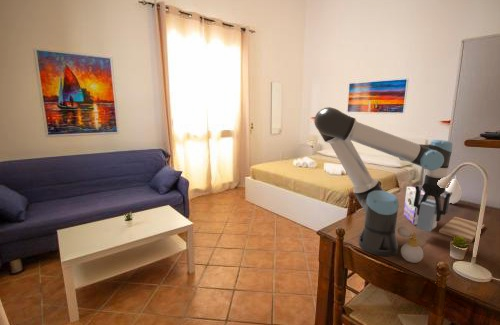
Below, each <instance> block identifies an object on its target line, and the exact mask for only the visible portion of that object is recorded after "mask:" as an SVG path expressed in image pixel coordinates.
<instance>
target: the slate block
mask: <svg viewBox="0 0 500 325" xmlns="http://www.w3.org/2000/svg"><path fill="white" fill-rule="evenodd" d="M435 213H437V210H436V202H435V199H430V198H429V199H427V200H426V201H425V202H422V203H421V204H420V210H419V216H418V222H417V225H416V229H419V230H421V231H423V232H427V233H430V232H431V231H432V230H434V229H435V228H432V225H433V220H434V215H435Z"/></svg>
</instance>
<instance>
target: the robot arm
mask: <svg viewBox="0 0 500 325" xmlns="http://www.w3.org/2000/svg"><path fill="white" fill-rule="evenodd" d="M314 126H315V128H316V129H317V130H318V133H319V134H320V136H321V138H322V140H323V141H324V142H325V143H327V144H329V145H330V146H331V149H332V150H333V152H334V153H335V156H336V157H337V159H338V160H339V161H340V164H341V166H342V167H343V169H344V170H345V172H346V174H347V176H348V178H349V180H350V181H351V183H352V185H353V189H352V191H353V193H354V195H355V197H356V198H357V200H358V203H359V204H360V206H361V208H362V209H363V211H364V214H365V217H364V226H363V229H362V231H361V233H360V235H359V236H358V246H359V248H360V249H362V250H363V251H364V252H367V253H369V254H372V255H374V256H379V257H391V256H395V255H397V253H398V250H399V244H398V240H397V236H396V227H397V226H396V225H397V220H398V219H397V218H398V213H399V212H398V211H399V199H398V197H397V196H396V195H395V194H393V193H391V192H388V191H385V190H384V189H383V188H382V186H381V184H380V182H379V180H377V178H373V177H372V175H371V173H370V172H369V170H368V168H367V166H366V165H365V163H364V162H363V159H362V158H361V156H360V154H359V152H358V151H357V149H356V147H355V145H354V143H353V142H355V143H357V144H360V145H363V146H365V147H368V148H371V149H373V150H376V151H379V152H381V153H384V154H387V155H389V156H393V157H395V158H398V159H399V160H400V161H405V162H409V163H411V164H413V165H416V166H419V167H421V168H423V169H425V170H426V171H425V176H424V179H423V180H424V181H423V184H422V185H416V186H414V187H415V188H416V195H415V200H414V207H417V208H418V210H417V215H418V216H419V210H420V204H421V203H422V202H425V201H426V200H427V198H428V196H429V197H430V196H432V197H433V198H434V201H435V202H436V210H437V213H435V215H434V220H433V225H432V228H434V229H435V228H436V227H437V226H438V225H437V223H438V222H440V221H441V218H442V215H443V216H445V215H447V214H448V209H449V205H450V203H449V200H450V197H451V195H452V193H451V192H450V193H449V192H447V191H445V189H446V187H445V188H440V187H439V186H438V185H437V182H438V180H440V179H441V178H443V177H446V178H447V176H448V171H449V166H450V161H451V156H452V152H453V142H452V141H449V140H443V139H432V140H431V142H430V144H420V143H416V142H413V141H410V140H408V139H405V138H403V137H399V136H396V135H394V134H391V133H388V132H385V131H384V130H381V129H377V128H375V127H372V126H370V125H367V124H365V123H361V122H358V121H357V119H356V117H352V116H350V115H348V114H346V113H344V112H342V111H340V110H339V109H337V108H333V107H330V106H329V107H328V106H327V107H324V108H321V109H320V110H319V111H317V113H316V114H315V116H314ZM421 190H423V191H424V192H425V194H424V196H423V198H422V200H421V202H420V204H419V199H420V194H421ZM442 194H444V199H443V205H442V201H441V198H442V197H441V195H442Z"/></svg>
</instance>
